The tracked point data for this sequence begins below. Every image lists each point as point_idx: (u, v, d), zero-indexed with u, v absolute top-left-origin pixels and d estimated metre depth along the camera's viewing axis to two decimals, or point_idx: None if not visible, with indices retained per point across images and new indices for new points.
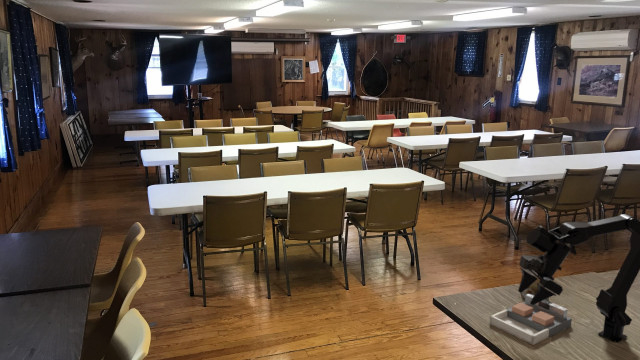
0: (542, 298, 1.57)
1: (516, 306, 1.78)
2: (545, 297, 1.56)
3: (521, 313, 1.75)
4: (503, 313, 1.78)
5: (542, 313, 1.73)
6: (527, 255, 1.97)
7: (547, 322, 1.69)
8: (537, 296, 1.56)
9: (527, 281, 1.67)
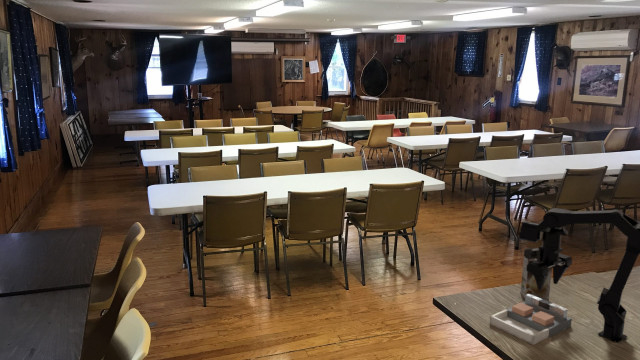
0: (541, 282, 1.72)
1: (516, 306, 1.78)
2: (542, 280, 1.71)
3: (521, 313, 1.75)
4: (503, 313, 1.78)
5: (542, 313, 1.73)
6: None
7: (547, 322, 1.69)
8: (536, 281, 1.74)
9: (557, 272, 1.78)
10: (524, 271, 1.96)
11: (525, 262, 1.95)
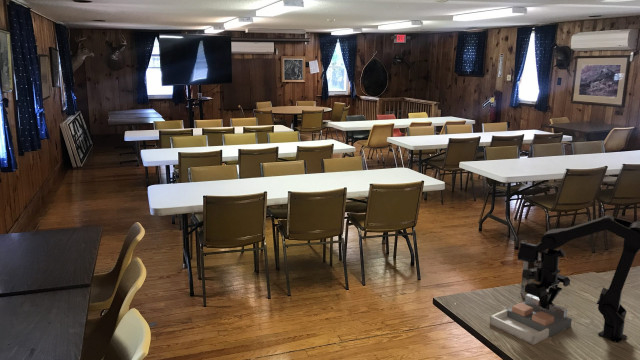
0: (544, 300, 1.75)
1: (516, 306, 1.78)
2: (545, 299, 1.75)
3: (521, 313, 1.75)
4: (503, 313, 1.78)
5: (542, 313, 1.73)
6: None
7: (547, 322, 1.69)
8: (540, 299, 1.77)
9: None
10: None
11: (525, 262, 1.95)
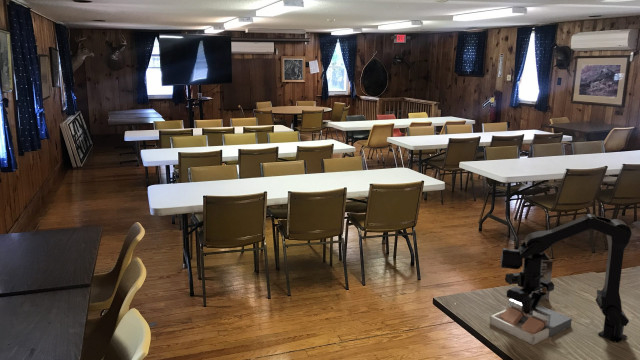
0: (527, 306, 1.70)
1: (504, 316, 1.76)
2: (528, 304, 1.70)
3: (511, 323, 1.73)
4: (503, 313, 1.78)
5: (531, 320, 1.69)
6: None
7: (537, 332, 1.66)
8: (523, 305, 1.72)
9: None
10: None
11: None
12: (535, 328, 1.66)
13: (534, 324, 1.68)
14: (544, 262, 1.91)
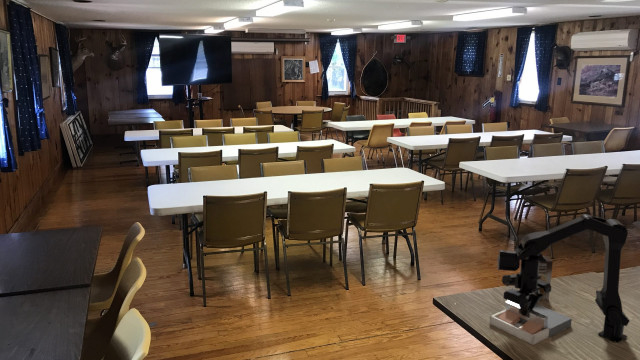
0: (524, 308, 1.69)
1: (502, 317, 1.75)
2: (525, 306, 1.69)
3: None
4: None
5: (530, 323, 1.69)
6: None
7: None
8: (520, 306, 1.71)
9: (530, 301, 1.72)
10: None
11: None
12: (533, 330, 1.66)
13: (532, 327, 1.67)
14: (544, 262, 1.91)
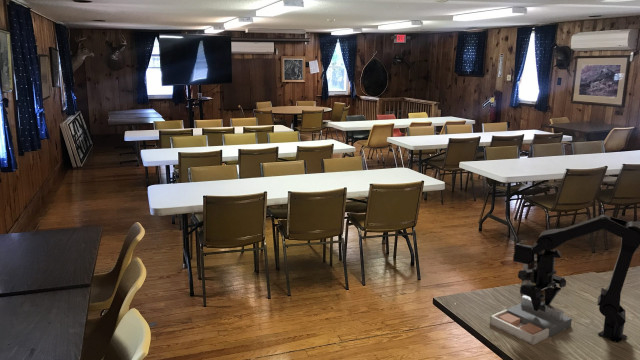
0: (537, 303, 1.73)
1: (503, 317, 1.75)
2: (538, 302, 1.72)
3: None
4: (503, 313, 1.78)
5: (530, 325, 1.69)
6: None
7: None
8: (532, 302, 1.75)
9: (548, 294, 1.78)
10: None
11: None
12: (534, 330, 1.66)
13: (533, 328, 1.67)
14: None
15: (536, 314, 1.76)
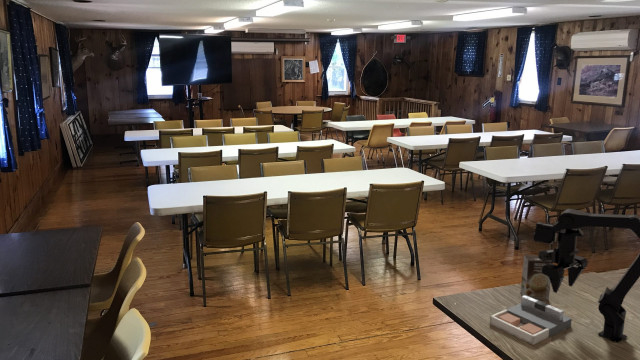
0: (556, 284, 1.69)
1: (503, 317, 1.75)
2: (557, 283, 1.68)
3: None
4: (503, 313, 1.78)
5: (530, 325, 1.69)
6: (527, 255, 1.97)
7: None
8: (552, 283, 1.70)
9: (572, 274, 1.75)
10: (524, 271, 1.96)
11: (525, 262, 1.95)
12: (534, 330, 1.66)
13: (533, 328, 1.67)
14: (544, 262, 1.91)
15: (536, 314, 1.76)
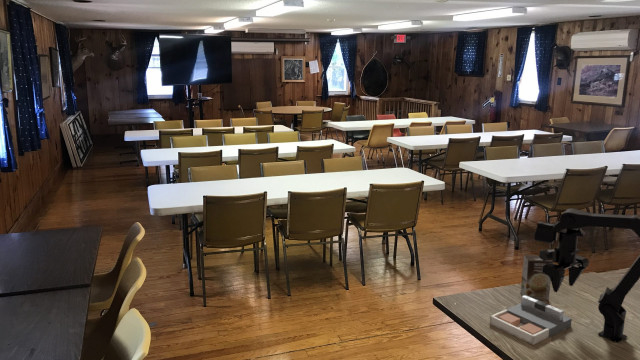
0: (557, 284, 1.69)
1: (503, 317, 1.75)
2: (558, 282, 1.68)
3: None
4: (503, 313, 1.78)
5: (530, 325, 1.69)
6: (527, 255, 1.97)
7: None
8: (552, 283, 1.70)
9: (573, 273, 1.75)
10: (524, 271, 1.96)
11: (525, 262, 1.95)
12: (534, 330, 1.66)
13: (533, 328, 1.67)
14: (544, 262, 1.91)
15: (536, 314, 1.76)
